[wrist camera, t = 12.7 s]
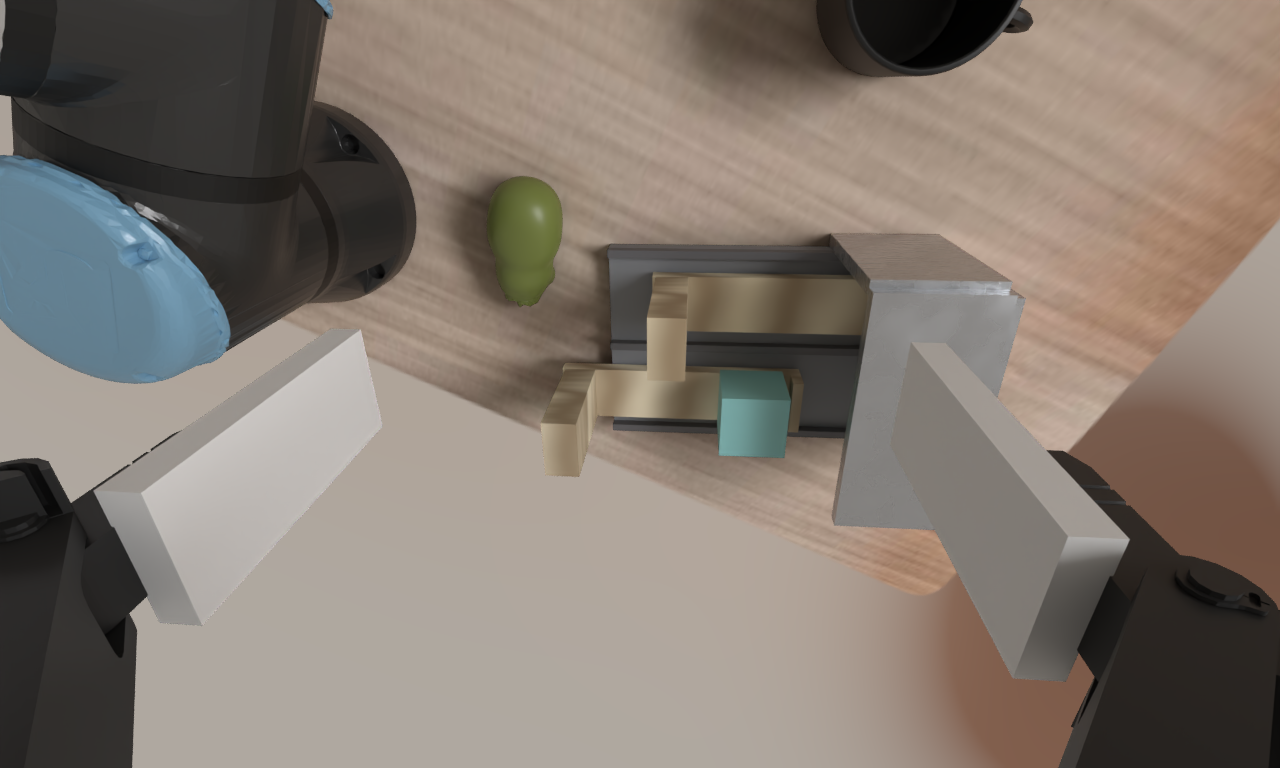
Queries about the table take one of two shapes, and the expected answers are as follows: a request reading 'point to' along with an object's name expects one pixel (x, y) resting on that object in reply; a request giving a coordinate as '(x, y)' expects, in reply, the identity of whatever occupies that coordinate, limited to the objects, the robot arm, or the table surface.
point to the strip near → (744, 310)
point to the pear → (524, 237)
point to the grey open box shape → (894, 317)
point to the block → (752, 413)
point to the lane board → (815, 355)
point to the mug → (914, 32)
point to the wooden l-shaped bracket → (632, 404)
